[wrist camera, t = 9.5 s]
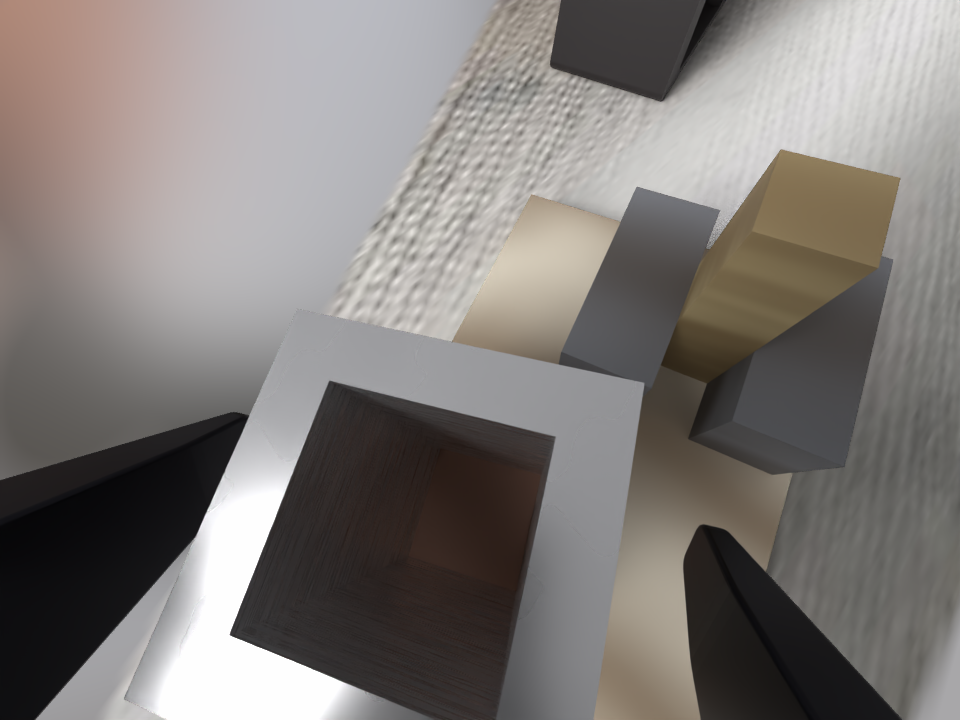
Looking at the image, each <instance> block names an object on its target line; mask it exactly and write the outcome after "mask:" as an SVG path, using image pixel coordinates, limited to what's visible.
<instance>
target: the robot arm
mask: <svg viewBox="0 0 960 720" xmlns="http://www.w3.org/2000/svg"><path fill="white" fill-rule="evenodd" d="M249 416H250V415H246V414H242V413H237V412H231V413H227V414H224V415H220V416H217V417H213V418H210V419H207V420H203V421H200V422H196V423H193V424H190V425H186V426H183V427H179V428H176V429H173V430H169V431H166V432H163V433H159V434H156V435H152V436H149V437H145V438H142V439H139V440H135V441H132V442H129V443H125V444H122V445H118V446H115V447H111V448H108V449H105V450H102V451H98V452H94V453H91V454H88V455H84V456H81V457H77V458H74V459H71V460H67V461H64V462H60V463H57V464H54V465H50V466H47V467H43V468H40V469H37V470H33V471H30V472H26V473H24V474H20V475H16V476H13V477H9V478H6V479H3V480H0V720H36V718H37V717H38V716H39V715H40V714H41V713H42V712H43V710H44V709H45V708H46V707H47V706H48V705H49V704H50V703H51V701H52V700H53V699H54V698H55V697H56V696H57V695H58V693H59V692H60V691H61V690H62V689H63V688H64V686H65V685H66V684H67V683H68V682H69V681H70V680H71V679H72V677H73V676H74V675H75V674H76V673H77V672H78V671H79V669H80V668H81V667H82V666H83V665H84V664H85V663H86V661H87V660H88V659H89V658H90V657H91V656H92V655H93V653H94V652H95V651H96V650H97V649H98V648H99V646H100V645H101V644H102V643H103V642H104V641H105V640H106V639H107V638H108V636H109V635H110V634H111V633H112V632H113V631H114V629H115V628H116V627H117V626H118V625H119V624H120V623H121V622H122V620H123V619H124V618H125V617H126V616H127V614H129V612H130V611H131V610H132V609H133V608H134V606H135V605H136V604H137V603H138V602H139V601H140V600H141V598H142V597H143V596H144V595H145V594H146V593H147V592H148V591H149V590H150V588H151V587H152V586H153V585H154V584H155V583H156V582H157V580H158V579H159V578H160V577H161V576H162V575H163V574H164V572H165V571H166V570H167V569H168V568H169V567H170V566H171V564H172V563H173V562H174V561H175V560H176V559H177V558H178V556H179V555H180V554H181V553H182V552H183V551H184V549H185V548H186V547H187V546H188V545H189V544H190V543H191V541H192V540H193V539H194V538H195V537H196V535H197V533H198V531H199V528H200V526H201V524H202V522H203V519H204V517H205V515H206V513H207V510H208V508H209V506H210V504H211V501H212V499H213V497H214V495H215V492H216V490H217V488H218V486H219V483H220V481H221V479H222V477H223V474H224V472H225V470H226V468H227V465H228V463H229V461H230V459H231V456H232V454H233V452H234V450H235V447H236V445H237V443H238V441H239V438H240V436H241V434H242V432H243V429H244V427H245V425H246V423H247V420H248V418H249ZM683 575H684V588H685V601H686V614H687V628H688V641H689V652H690V662H691V668H692V674H693V680H694V686H695V691H696V697H697V702H698V708H699V713H700V719H701V720H902V719H901V718H900V717H899V715H898V714H897V713H896V712H895V711H894V710H893V709H892V708H891V707H890V706H889V705H888V704H887V703H886V701H885V700H884V699H883V698H882V697H881V696H880V695H879V694H878V693H877V692H876V691H875V690H874V688H873V687H872V686H871V685H870V684H869V683H868V682H867V681H866V680H865V679H864V678H863V677H862V675H861V674H860V673H859V672H858V671H857V670H856V669H855V668H854V667H853V666H852V665H851V664H850V662H849V661H848V660H847V659H846V658H845V657H844V656H843V655H842V654H841V653H840V652H839V651H838V649H837V648H836V647H835V646H834V645H833V644H832V643H831V642H830V641H829V640H828V639H827V638H826V636H825V635H824V634H823V633H822V632H821V631H820V630H819V629H818V628H817V627H816V626H815V625H814V623H813V622H812V621H811V620H810V619H809V618H808V617H807V616H806V615H805V614H804V613H803V612H802V610H801V609H800V608H799V607H798V606H797V605H796V604H795V603H794V602H793V601H792V600H791V599H790V597H789V596H788V595H787V594H786V593H785V592H784V591H783V590H782V589H781V588H780V587H779V586H778V584H777V583H776V582H775V581H774V580H773V579H772V578H771V577H770V576H769V575H768V574H767V573H766V571H765V570H764V569H763V568H762V567H761V566H760V565H759V564H758V563H757V562H756V561H755V560H754V558H753V557H752V556H751V555H750V554H749V553H748V552H747V551H746V550H745V549H744V548H743V547H742V545H741V544H740V543H739V542H738V541H737V540H736V539H735V538H734V537H733V536H732V535H731V534H730V533H729V532H728V531H727V530H725V529H723V528H718V527H714V526H710V525H706V524H702V525H699V526H698V528H697V529H696V531H695V533H694V535H693V538H692V540H691V542H690V544H689V546H688V549H687V551H686V553H685V556H684V560H683Z"/></svg>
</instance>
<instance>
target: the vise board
mask: <svg viewBox="0 0 960 720" xmlns="http://www.w3.org/2000/svg"><path fill="white" fill-rule="evenodd" d="M899 182H900V178H898V177H893V176H889V175H885V174H881V173H877V172H873V171H868V170H864V169H860V168H856V167H852V166H848V165H843V164H839V163H835V162H831V161H827V160H823V159H818V158H814V157H810V156H806V155H802V154H798V153H793V152H789V151H785V150H780V151H779V153H778V154H777V156H776V157H775V158H774V160H773V161H772V163H771V164H770V165H769V167H768V168H767V170H766V171H765V172H764V174H763V175H762V177H761V178H760V180H759V181H758V182H757V184H756V185H755V187H754V188H753V189H752V191H751V192H750V194H749V195H748V196H747V198H746V199H745V201H744V202H743V203H742V205H741V206H740V208H739V209H738V211H737V212H736V213H735V215H734V216H733V218H732V219H731V220H730V222H729V223H728V225H727V226H726V227H725V229H724V230H723V232H722V233H721V235H720V236H719V237H718V239H717V240H716V242H715V243H714V244H713V246H712V247H711V249H710V250H709V249H706V245H707V243H708V240H709V238H710V235H711V232H712V230H713V227H714V225H715V222H716V219H717V217H718V214H719V212H720V210H717V209H713V208H710V207H706V206H703V205H699V204H696V203H692V202H689V201H685V200H682V199H678V198H675V197H671V196H668V195H664V194H661V193H657V192H654V191H650V190H647V189H643V188H640V187H636V190H635V192H634V194H633V196H632V198H631V201H630V203H629V205H628V207H627V209H626V211H625V214H624V216H623V218H622V220H621V222H619V221H616V220H613V219H609V218H606V217H603V216H600V215H596V214H593V213H590V212H587V211H583V210H580V209H577V208H574V207H571V206H567V205H564V204H561V203H558V202H554V201H551V200H548V199H545V198H541V197H538V196H535V195H532V194H531V196H530V198H529V200H528V202H527V204H526V205H525V207H524V209H523V211H522V213H521V215H520V217H519V218H518V220H517V222H516V224H515V226H514V228H513V230H512V231H511V233H510V235H509V237H508V239H507V241H506V242H505V244H504V246H503V248H502V250H501V252H500V254H499V255H498V257H497V259H496V261H495V263H494V265H493V267H492V268H491V270H490V272H489V274H488V276H487V278H486V279H485V281H484V283H483V285H482V287H481V289H480V291H479V292H478V294H477V296H476V298H475V300H474V302H473V304H472V305H471V307H470V309H469V311H468V313H467V315H466V316H465V318H464V320H463V322H462V324H461V326H460V328H459V329H458V331H457V333H456V335H455V337H454V339H453V341H452V342H455V343H460V344H465V345H469V346H474V347H479V348H483V349H488V350H493V351H497V352H502V353H507V354H511V355H516V356H521V357H526V358H530V359H535V360H540V361H544V362H549V363H554V364H558V365H563V366H568V367H572V368H577V369H582V370H586V371H591V372H596V373H601V374H605V375H610V376H615V377H619V378H624V379H629V380H633V381H638V382H643V383H645V384H644V390H643V397H642V403H641V410H640V417H639V423H638V430H637V436H636V443H635V450H634V456H633V463H632V469H631V476H630V482H629V489H628V496H627V502H626V509H625V515H624V522H623V529H622V535H621V542H620V548H619V555H618V562H617V568H616V575H615V581H614V588H613V594H612V601H611V608H610V614H609V621H608V627H607V634H606V641H605V647H604V654H603V660H602V667H601V674H600V680H599V687H598V693H597V700H596V707H595V713H594V720H701V719H700V713H699V708H698V702H697V697H696V691H695V686H694V680H693V674H692V668H691V662H690V652H689V641H688V628H687V614H686V601H685V588H684V575H683V560H684V556H685V553H686V551H687V549H688V546H689V544H690V542H691V540H692V538H693V535H694V533H695V531H696V529H697V528H698V526H699V525H702V524H706V525H710V526H714V527H718V528H723V529H725V530H727V531H728V532H729V533H730V534H731V535H732V536H733V537H734V538H735V539H736V540H737V541H738V542H739V543H740V544H741V545H742V547H743V548H744V549H745V550H746V551H747V552H748V553H749V554H750V555H751V556H752V557H753V558H754V560H755V561H756V562H757V563H758V564H759V565H760V566H761V567H762V568H763V569H764V570H765V571H766V570H767V566H768V563H769V559H770V555H771V552H772V548H773V544H774V540H775V537H776V533H777V529H778V526H779V522H780V518H781V514H782V511H783V507H784V503H785V499H786V496H787V492H788V488H789V485H790V481H791V477H792V473H794V472H803V471H811V470H820V469H829V468H837V467H845V462H846V458H847V454H848V450H849V445H850V441H851V437H852V433H853V428H854V424H855V420H856V416H857V412H858V407H859V403H860V399H861V395H862V390H863V386H864V382H865V378H866V373H867V369H868V365H869V361H870V356H871V352H872V348H873V344H874V339H875V335H876V331H877V327H878V322H879V318H880V314H881V310H882V306H883V301H884V297H885V293H886V289H887V284H888V280H889V276H890V272H891V267H892V263H893V259H889V258H886V257H882V251H883V247H884V243H885V239H886V235H887V231H888V227H889V223H890V219H891V215H892V211H893V207H894V203H895V199H896V194H897V190H898V186H899ZM540 478H541V475H538V474H535V473H531V472H527V471H524V470H520V469H516V468H512V467H509V466H505V465H501V464H498V463H494V462H490V461H486V460H483V459H479V458H475V457H471V456H468V455H464V454H460V453H457V452H453V451H449V450H445V449H442V448H440V452H439V455H438V459H437V462H436V465H435V469H434V472H433V476H432V479H431V482H430V486H429V489H428V493H427V496H426V499H425V503H424V506H423V510H422V513H421V516H420V520H419V523H418V527H417V530H416V533H415V537H414V540H413V544H412V547H411V550H410V554H409V556H410V557H413V558H416V559H419V560H422V561H425V562H428V563H431V564H434V565H437V566H440V567H443V568H446V569H449V570H452V571H455V572H458V573H461V574H464V575H467V576H470V577H474V578H477V579H480V580H483V581H486V582H489V583H492V584H495V585H498V586H501V587H504V588H507V589H510V590H513V591H516V589H517V584H518V579H519V575H520V570H521V565H522V561H523V556H524V552H525V547H526V542H527V538H528V533H529V528H530V524H531V519H532V515H533V510H534V505H535V501H536V496H537V491H538V487H539V482H540Z"/></svg>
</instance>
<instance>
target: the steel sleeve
mask: <svg viewBox="0 0 960 720" xmlns="http://www.w3.org/2000/svg"><path fill="white" fill-rule="evenodd" d="M644 384H645V383H643V382H638V381H633V380H629V379H624V378H619V377H615V376H610V375H605V374H601V373H596V372H591V371H586V370H582V369H577V368H572V367H568V366H563V365H558V364H554V363H549V362H544V361H540V360H535V359H530V358H526V357H521V356H516V355H511V354H507V353H502V352H497V351H493V350H488V349H483V348H479V347H474V346H469V345H465V344H460V343H455V342H451V341H446V340H441V339H436V338H432V337H427V336H422V335H418V334H413V333H408V332H404V331H399V330H394V329H390V328H385V327H380V326H376V325H371V324H366V323H362V322H357V321H352V320H347V319H343V318H338V317H333V316H329V315H324V314H319V313H315V312H310V311H305V310H301V309H297V310H296V313H295V315H294V317H293V319H292V322H291V324H290V326H289V328H288V330H287V333H286V335H285V337H284V339H283V342H282V344H281V346H280V348H279V351H278V353H277V355H276V358H275V360H274V362H273V364H272V367H271V369H270V371H269V373H268V375H267V378H266V380H265V382H264V384H263V387H262V389H261V391H260V394H259V396H258V398H257V400H256V402H255V405H254V407H253V409H252V412H251V414H250V416H249V418H248V420H247V423H246V425H245V427H244V429H243V432H242V434H241V436H240V438H239V441H238V443H237V445H236V447H235V450H234V452H233V454H232V456H231V459H230V461H229V463H228V465H227V468H226V470H225V472H224V474H223V477H222V479H221V481H220V483H219V486H218V488H217V490H216V492H215V495H214V497H213V499H212V501H211V504H210V506H209V508H208V510H207V513H206V515H205V517H204V519H203V522H202V524H201V526H200V528H199V531H198V533H197V535H196V537H195V540H194V542H193V544H192V546H191V549H190V551H189V553H188V555H187V558H186V560H185V562H184V564H183V567H182V569H181V571H180V573H179V576H178V578H177V580H176V582H175V585H174V587H173V589H172V591H171V594H170V596H169V598H168V600H167V603H166V605H165V607H164V609H163V612H162V614H161V616H160V618H159V621H158V623H157V625H156V627H155V630H154V632H153V634H152V636H151V639H150V641H149V643H148V645H147V648H146V650H145V652H144V654H143V657H142V659H141V661H140V663H139V666H138V668H137V670H136V672H135V675H134V677H133V679H132V681H131V684H130V686H129V688H128V690H127V693H126V695H125V697H124V699H125V700H127V701H129V702H131V703H133V704H135V705H137V706H139V707H142V708H144V709H146V710H148V711H150V712H152V713H154V714H156V715H159V716H161V717H163V718H165V719H167V720H594V713H595V707H596V700H597V693H598V687H599V680H600V674H601V667H602V660H603V654H604V647H605V641H606V634H607V627H608V621H609V614H610V608H611V601H612V594H613V588H614V581H615V575H616V568H617V562H618V555H619V548H620V542H621V535H622V529H623V522H624V515H625V509H626V502H627V496H628V489H629V482H630V476H631V469H632V463H633V456H634V450H635V443H636V436H637V430H638V423H639V417H640V410H641V403H642V397H643V390H644ZM440 448H442V449H445V450H449V451H453V452H457V453H460V454H464V455H468V456H471V457H475V458H479V459H483V460H486V461H490V462H494V463H498V464H501V465H505V466H509V467H512V468H516V469H520V470H524V471H527V472H531V473H535V474H538V475H541V478H540V482H539V487H538V491H537V496H536V501H535V505H534V510H533V515H532V519H531V524H530V528H529V533H528V538H527V542H526V547H525V552H524V556H523V561H522V565H521V570H520V575H519V579H518V584H517V589H516V591H513V590H510V589H507V588H504V587H501V586H498V585H495V584H492V583H489V582H486V581H483V580H480V579H477V578H474V577H470V576H467V575H464V574H461V573H458V572H455V571H452V570H449V569H446V568H443V567H440V566H437V565H434V564H431V563H428V562H425V561H422V560H419V559H416V558H413V557H410V556H409V554H410V550H411V547H412V544H413V540H414V537H415V533H416V530H417V527H418V523H419V520H420V516H421V513H422V510H423V506H424V503H425V499H426V496H427V493H428V489H429V486H430V482H431V479H432V476H433V472H434V469H435V465H436V462H437V459H438V455H439V452H440Z"/></svg>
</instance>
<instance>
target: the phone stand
mask: <svg viewBox="0 0 960 720" xmlns="http://www.w3.org/2000/svg"><path fill="white" fill-rule="evenodd" d="M725 1H726V0H561V4H560V10H559V16H558V21H557V27H556V33H555V38H554V44H553V49H552V55H551V61H550V66H551V67H553V68H556V69H559V70H563V71H566V72H569V73H572V74H575V75H579V76H582V77H585V78H588V79H592V80H595V81H598V82H601V83H605V84H608V85H611V86H614V87H617V88H621V89H624V90H627V91H630V92H634V93H637V94H640V95H643V96H647V97H650V98H653V99H656V100H660V101H662V100H663V99H664V97H665V96H666V94H667V93H668V91H669V89H670V88H671V86H672V85H673V83H674V81H675V80H676V78H677V77H678V75H679V74H680V72H681V70H682V69H683V67H684V66H685V64H686V63H687V61H688V59H689V58H690V56H691V55H692V53H693V52H694V50H695V48H696V47H697V44H698V42H700V40H701V39H702V37H703V36H704V34H705V33H706V31H707V29H708V28H709V26H710V25H711V23H712V22H713V20H714V18H715V17H716V15H717V14H718V12H719V11H720V9H721V7H722V6H723V4H724V3H725Z"/></svg>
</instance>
